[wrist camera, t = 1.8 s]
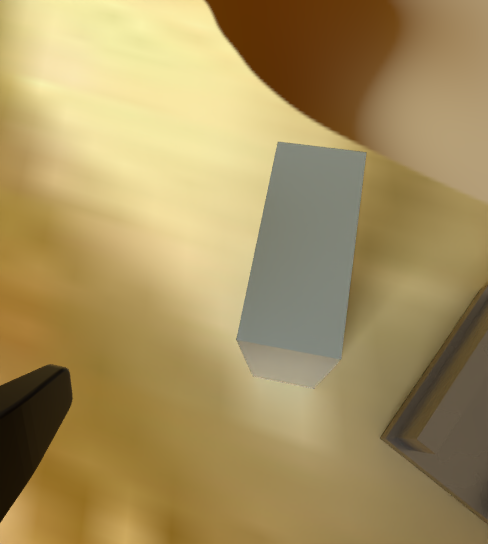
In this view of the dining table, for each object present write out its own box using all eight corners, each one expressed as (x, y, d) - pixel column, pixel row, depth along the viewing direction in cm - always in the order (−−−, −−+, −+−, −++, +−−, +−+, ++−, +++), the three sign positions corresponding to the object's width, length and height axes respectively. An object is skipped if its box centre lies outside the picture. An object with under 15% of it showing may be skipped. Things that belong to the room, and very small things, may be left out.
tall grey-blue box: (314, 388, 20) (341, 359, 12) (252, 376, 20) (236, 339, 12) (332, 256, 22) (366, 152, 14) (277, 247, 23) (277, 141, 14)
